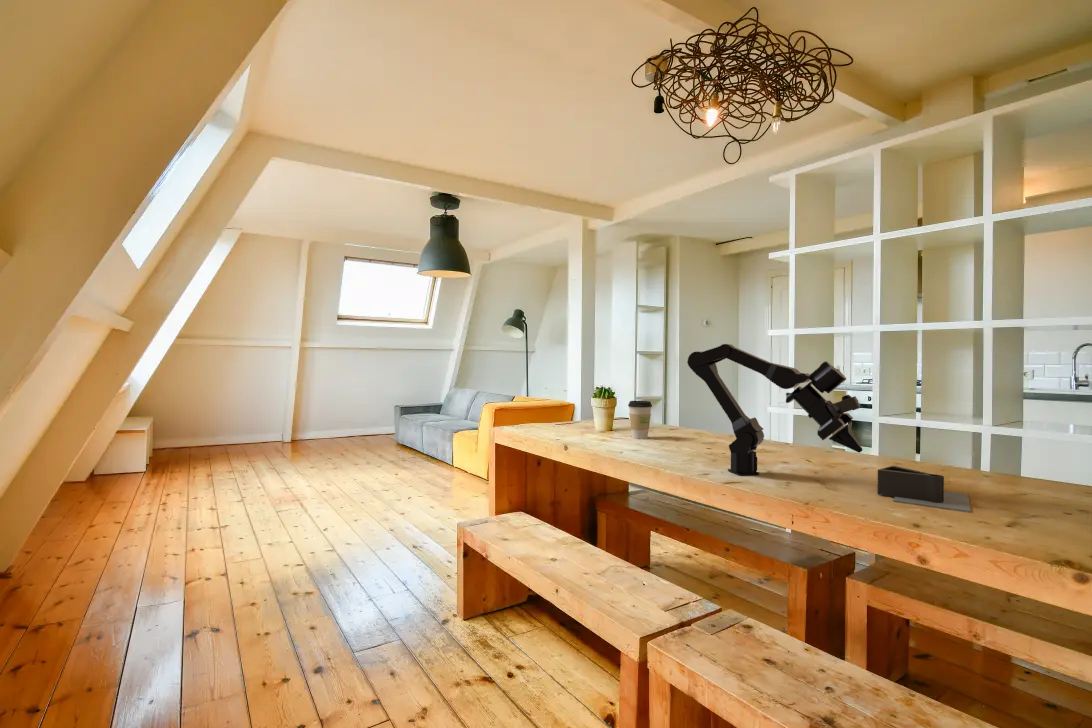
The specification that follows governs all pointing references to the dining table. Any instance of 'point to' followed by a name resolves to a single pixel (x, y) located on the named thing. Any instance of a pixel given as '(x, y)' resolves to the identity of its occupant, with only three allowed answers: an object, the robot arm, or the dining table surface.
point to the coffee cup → (640, 418)
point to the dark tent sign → (910, 484)
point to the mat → (950, 502)
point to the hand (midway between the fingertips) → (861, 451)
